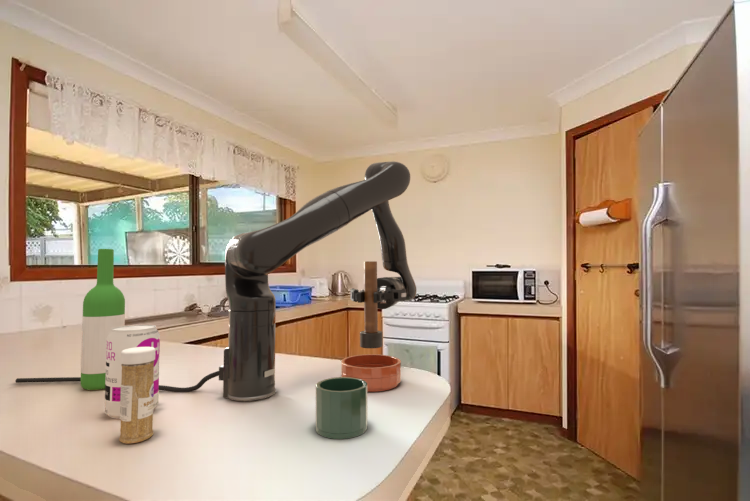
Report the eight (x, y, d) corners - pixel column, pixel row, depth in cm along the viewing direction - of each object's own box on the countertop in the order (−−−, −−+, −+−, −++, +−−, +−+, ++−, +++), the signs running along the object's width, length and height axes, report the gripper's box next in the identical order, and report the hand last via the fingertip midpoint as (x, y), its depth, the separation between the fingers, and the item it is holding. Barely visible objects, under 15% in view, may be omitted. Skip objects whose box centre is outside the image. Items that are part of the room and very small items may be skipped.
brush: (363, 349, 81) (362, 261, 82) (357, 344, 86) (356, 261, 86) (385, 347, 82) (384, 261, 83) (378, 343, 87) (377, 261, 88)
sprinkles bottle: (154, 439, 59) (156, 349, 60) (118, 447, 57) (121, 353, 57) (152, 429, 63) (154, 344, 64) (118, 436, 61) (120, 347, 61)
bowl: (335, 391, 83) (335, 367, 83) (348, 374, 96) (348, 353, 96) (398, 394, 81) (398, 369, 81) (402, 376, 94) (402, 355, 94)
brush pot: (309, 437, 60) (309, 390, 60) (323, 417, 68) (323, 376, 69) (362, 440, 59) (362, 393, 59) (370, 419, 67) (370, 378, 67)
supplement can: (168, 406, 74) (170, 325, 74) (127, 422, 66) (130, 332, 67) (135, 401, 76) (137, 323, 77) (93, 416, 69) (95, 329, 69)
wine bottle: (71, 389, 84) (75, 248, 86) (108, 379, 92) (111, 250, 93) (95, 393, 81) (99, 247, 83) (131, 383, 89) (134, 249, 90)
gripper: (358, 277, 100) (334, 279, 83) (413, 277, 97) (400, 279, 80) (358, 307, 100) (335, 315, 83) (413, 307, 96) (400, 316, 80)
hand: (367, 297), depth 82 cm, fingers closed on brush, 3 cm apart
